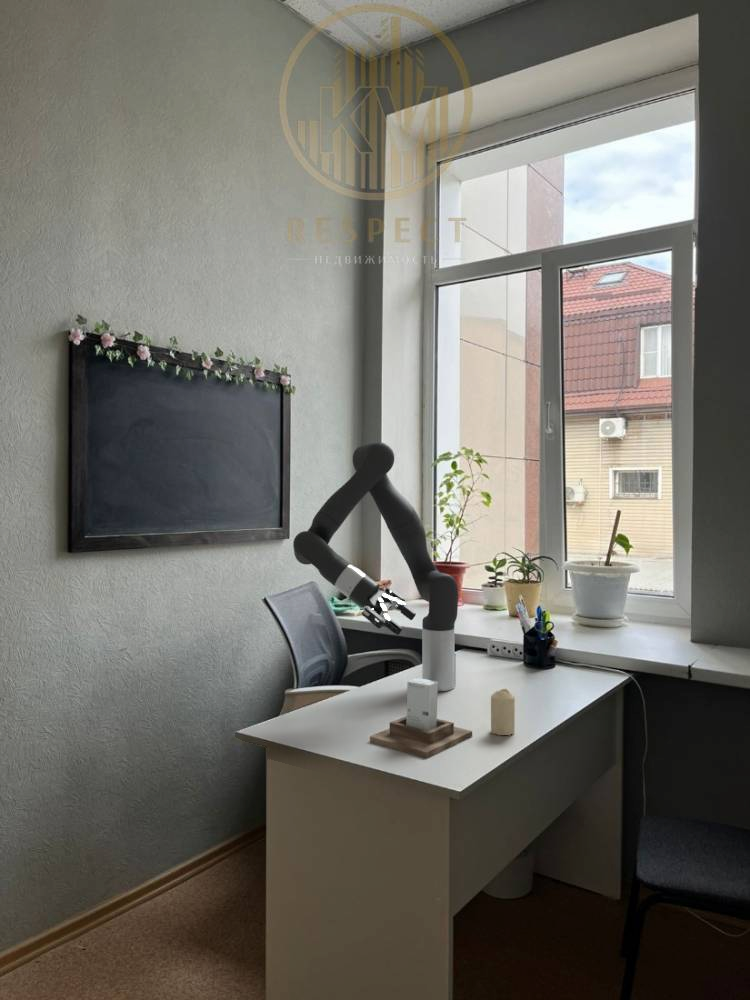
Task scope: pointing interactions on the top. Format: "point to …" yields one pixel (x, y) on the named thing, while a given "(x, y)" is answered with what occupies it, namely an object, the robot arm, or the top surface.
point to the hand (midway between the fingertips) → (407, 624)
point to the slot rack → (420, 737)
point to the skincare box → (422, 703)
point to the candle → (502, 712)
